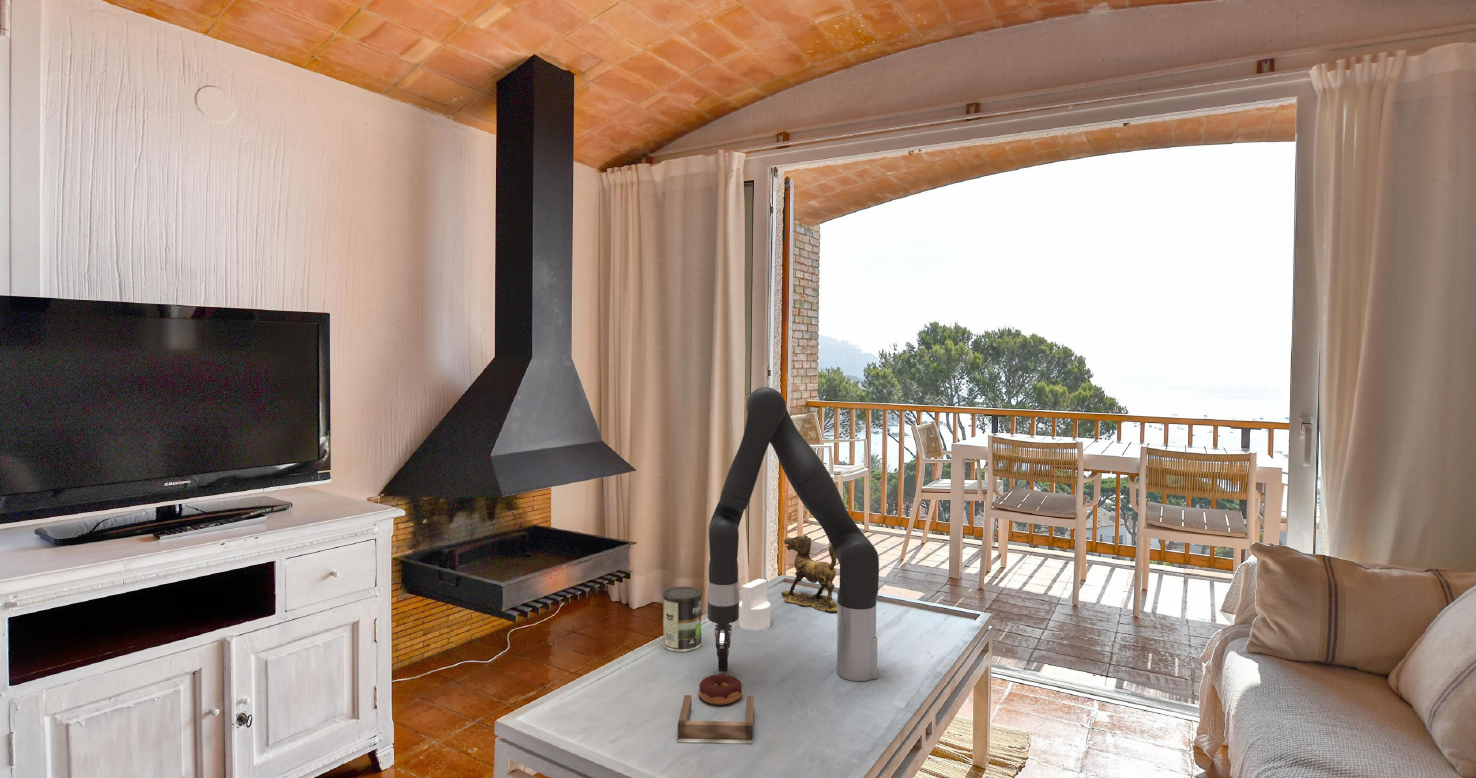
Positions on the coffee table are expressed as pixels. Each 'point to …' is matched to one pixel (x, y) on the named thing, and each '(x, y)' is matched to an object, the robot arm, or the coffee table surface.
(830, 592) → the figurine
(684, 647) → the coffee can
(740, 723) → the walnut pocket
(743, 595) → the base with upright slab
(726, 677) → the donut
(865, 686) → the coffee table surface
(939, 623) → the coffee table surface
